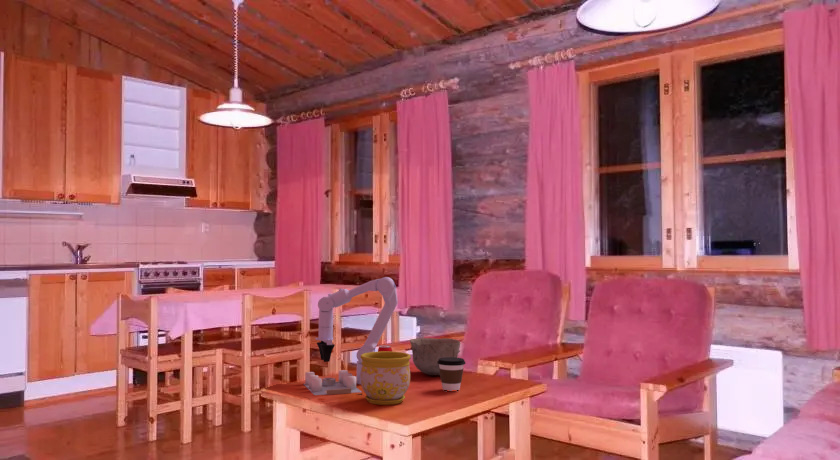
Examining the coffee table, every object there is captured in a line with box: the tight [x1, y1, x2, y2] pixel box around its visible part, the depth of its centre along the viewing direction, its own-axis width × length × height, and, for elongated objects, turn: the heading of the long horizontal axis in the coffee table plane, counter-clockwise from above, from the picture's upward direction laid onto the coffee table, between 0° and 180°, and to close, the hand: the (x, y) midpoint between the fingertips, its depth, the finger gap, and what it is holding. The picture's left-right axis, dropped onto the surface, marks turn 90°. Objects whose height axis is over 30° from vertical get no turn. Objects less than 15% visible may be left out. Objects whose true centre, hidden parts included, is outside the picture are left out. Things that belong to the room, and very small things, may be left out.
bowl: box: [409, 337, 461, 376], centre depth 289 cm, size 22×22×15 cm
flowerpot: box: [360, 351, 412, 406], centre depth 237 cm, size 18×18×16 cm
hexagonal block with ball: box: [322, 377, 337, 387], centre depth 259 cm, size 5×5×3 cm
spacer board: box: [303, 369, 363, 396], centre depth 254 cm, size 18×23×6 cm
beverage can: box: [377, 344, 393, 352], centre depth 291 cm, size 6×6×12 cm
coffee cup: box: [437, 356, 466, 391], centre depth 257 cm, size 11×11×12 cm
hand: (325, 360), depth 266 cm, fingers open, 4 cm apart
